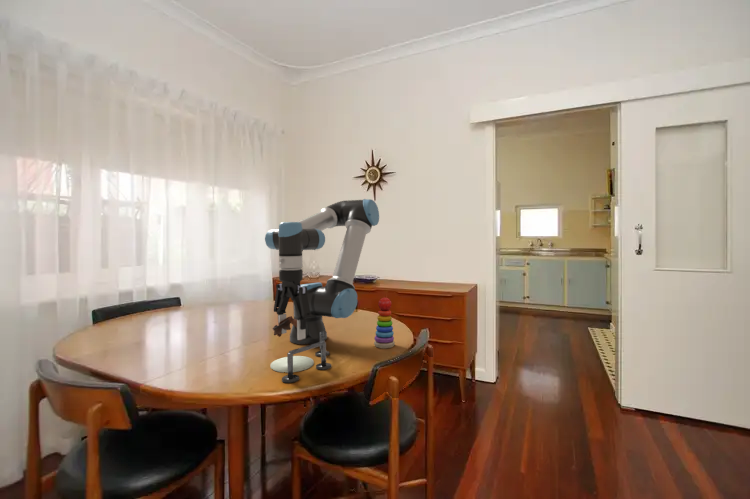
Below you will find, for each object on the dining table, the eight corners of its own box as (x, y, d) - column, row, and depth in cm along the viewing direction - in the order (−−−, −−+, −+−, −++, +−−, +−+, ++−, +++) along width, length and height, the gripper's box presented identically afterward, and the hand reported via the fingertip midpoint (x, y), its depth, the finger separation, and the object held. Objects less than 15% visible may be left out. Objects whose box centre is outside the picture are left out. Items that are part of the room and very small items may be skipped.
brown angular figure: (297, 345, 111) (283, 323, 111) (277, 354, 116) (264, 333, 115) (317, 326, 122) (304, 306, 121) (298, 335, 126) (286, 315, 126)
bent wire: (260, 371, 112) (259, 345, 112) (322, 351, 132) (322, 328, 131) (288, 384, 102) (288, 355, 102) (351, 360, 122) (351, 335, 122)
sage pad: (262, 365, 118) (262, 364, 118) (296, 354, 128) (296, 353, 128) (287, 376, 109) (287, 374, 109) (322, 363, 119) (322, 362, 119)
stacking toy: (393, 349, 133) (392, 300, 132) (372, 348, 135) (371, 299, 134) (396, 343, 141) (395, 296, 140) (376, 342, 142) (375, 295, 142)
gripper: (262, 267, 122) (263, 332, 122) (302, 271, 107) (303, 345, 108) (280, 266, 127) (281, 328, 128) (321, 270, 113) (322, 339, 114)
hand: (291, 336), depth 118 cm, fingers closed on brown angular figure, 10 cm apart
